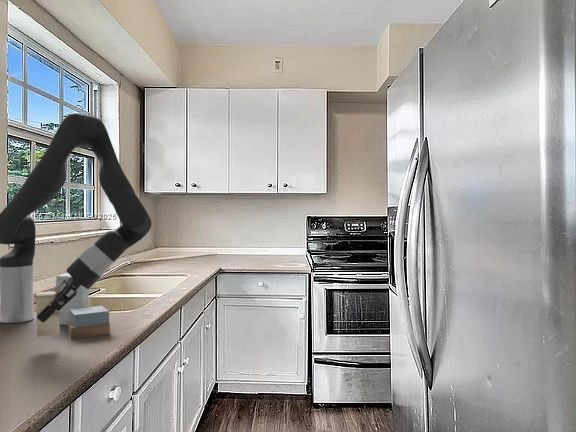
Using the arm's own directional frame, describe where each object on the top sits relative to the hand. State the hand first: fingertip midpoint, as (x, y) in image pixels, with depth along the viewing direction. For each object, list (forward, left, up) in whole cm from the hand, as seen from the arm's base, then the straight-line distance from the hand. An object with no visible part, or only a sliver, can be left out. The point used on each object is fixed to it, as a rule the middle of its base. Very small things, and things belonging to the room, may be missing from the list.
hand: (39, 317), depth 126 cm
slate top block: (-14, +13, -6) cm, 20 cm away
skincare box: (-29, +10, -9) cm, 32 cm away
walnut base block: (-14, +13, -9) cm, 21 cm away
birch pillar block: (0, +2, -4) cm, 5 cm away
